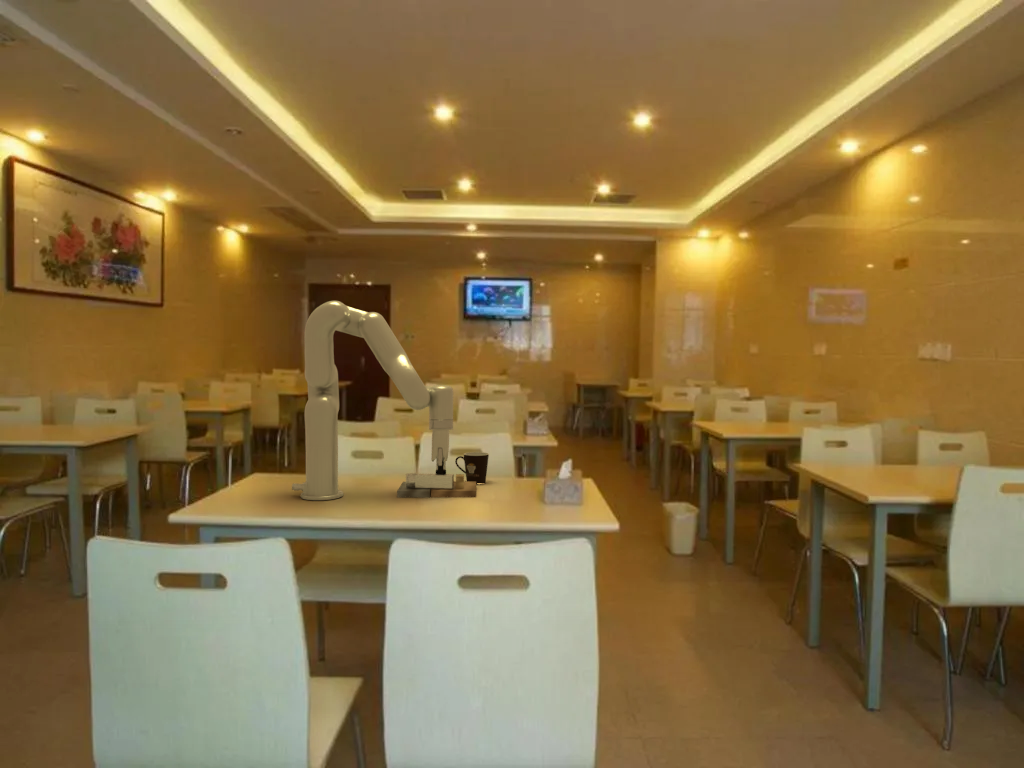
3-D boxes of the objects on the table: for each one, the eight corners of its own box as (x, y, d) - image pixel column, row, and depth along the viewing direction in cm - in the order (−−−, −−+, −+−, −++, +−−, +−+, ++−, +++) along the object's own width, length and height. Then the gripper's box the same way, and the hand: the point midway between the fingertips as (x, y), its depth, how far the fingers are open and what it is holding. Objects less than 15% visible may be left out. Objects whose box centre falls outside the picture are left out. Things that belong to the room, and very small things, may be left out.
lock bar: (404, 487, 213) (404, 475, 213) (407, 485, 217) (407, 473, 217) (451, 488, 212) (452, 475, 212) (453, 486, 216) (453, 474, 215)
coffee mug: (493, 483, 235) (493, 454, 235) (473, 486, 230) (473, 456, 229) (473, 478, 244) (473, 450, 244) (453, 481, 238) (453, 452, 238)
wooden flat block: (397, 497, 210) (397, 477, 210) (403, 487, 226) (403, 469, 226) (475, 497, 211) (475, 477, 211) (476, 487, 227) (476, 469, 227)
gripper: (430, 422, 224) (430, 478, 225) (427, 427, 209) (427, 487, 210) (453, 422, 225) (453, 478, 225) (452, 427, 210) (451, 486, 210)
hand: (440, 482), depth 218 cm, fingers closed
